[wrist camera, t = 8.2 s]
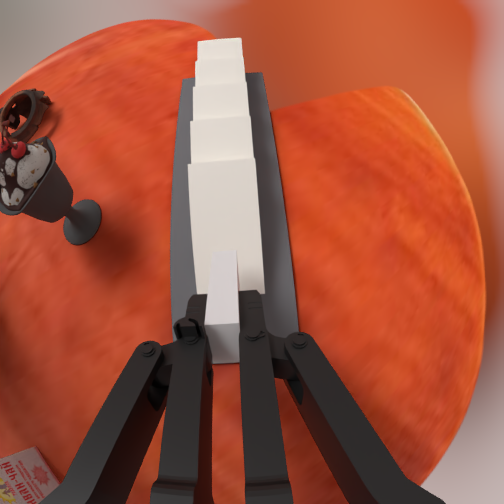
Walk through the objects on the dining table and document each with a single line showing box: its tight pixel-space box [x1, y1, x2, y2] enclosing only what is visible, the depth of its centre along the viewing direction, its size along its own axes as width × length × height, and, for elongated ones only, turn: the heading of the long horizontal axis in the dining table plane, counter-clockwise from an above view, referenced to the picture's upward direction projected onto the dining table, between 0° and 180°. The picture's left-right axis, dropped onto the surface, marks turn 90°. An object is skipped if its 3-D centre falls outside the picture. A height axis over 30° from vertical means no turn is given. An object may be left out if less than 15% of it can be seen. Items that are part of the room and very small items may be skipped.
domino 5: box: [188, 158, 265, 294], centre depth 21 cm, size 5×2×10 cm
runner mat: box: [170, 73, 299, 364], centre depth 25 cm, size 10×32×1 cm, turn 5°
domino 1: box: [198, 38, 243, 61], centre depth 26 cm, size 5×2×10 cm
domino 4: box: [190, 116, 254, 164], centre depth 22 cm, size 5×2×10 cm
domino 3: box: [193, 82, 249, 121], centre depth 23 cm, size 5×2×10 cm
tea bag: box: [0, 446, 61, 504], centre depth 11 cm, size 4×7×10 cm, turn 32°
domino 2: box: [195, 57, 246, 86], centre depth 25 cm, size 5×2×10 cm
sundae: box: [0, 120, 101, 245], centre depth 17 cm, size 7×7×15 cm
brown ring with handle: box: [0, 89, 51, 144], centre depth 26 cm, size 12×9×8 cm
